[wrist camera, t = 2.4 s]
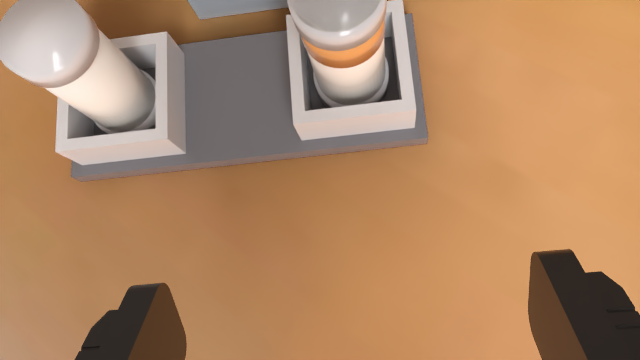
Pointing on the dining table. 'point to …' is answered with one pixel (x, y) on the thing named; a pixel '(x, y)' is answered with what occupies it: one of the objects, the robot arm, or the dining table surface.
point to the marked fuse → (344, 48)
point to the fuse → (77, 64)
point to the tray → (233, 7)
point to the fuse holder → (245, 106)
